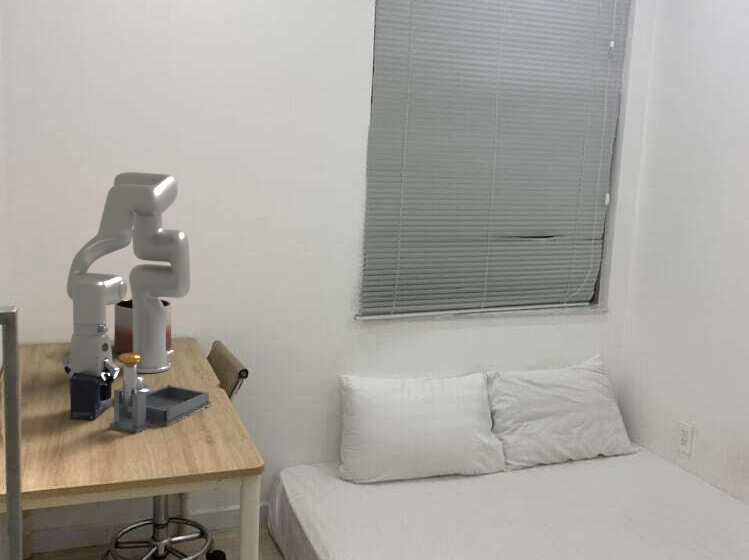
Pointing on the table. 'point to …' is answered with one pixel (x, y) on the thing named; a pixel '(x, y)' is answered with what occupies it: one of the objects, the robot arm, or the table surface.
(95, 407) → the small box
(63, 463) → the table surface
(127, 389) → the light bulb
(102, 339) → the robot arm
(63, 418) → the table surface
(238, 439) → the table surface
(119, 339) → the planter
